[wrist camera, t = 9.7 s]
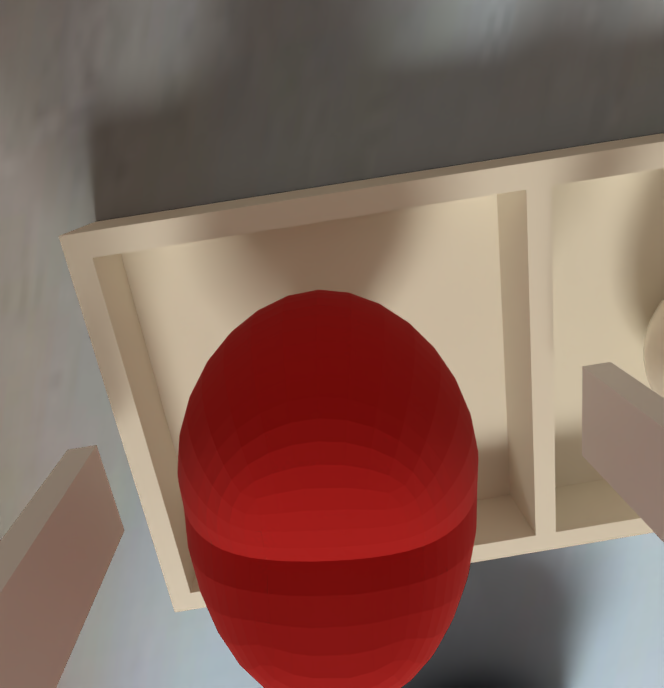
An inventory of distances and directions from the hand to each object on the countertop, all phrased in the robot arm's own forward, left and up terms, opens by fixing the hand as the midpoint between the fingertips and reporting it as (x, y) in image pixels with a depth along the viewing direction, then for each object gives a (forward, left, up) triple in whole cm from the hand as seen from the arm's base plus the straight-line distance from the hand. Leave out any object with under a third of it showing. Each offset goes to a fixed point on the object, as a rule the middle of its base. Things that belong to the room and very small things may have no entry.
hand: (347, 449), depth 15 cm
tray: (+6, 0, -5) cm, 8 cm away
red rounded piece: (0, 0, -5) cm, 5 cm away
